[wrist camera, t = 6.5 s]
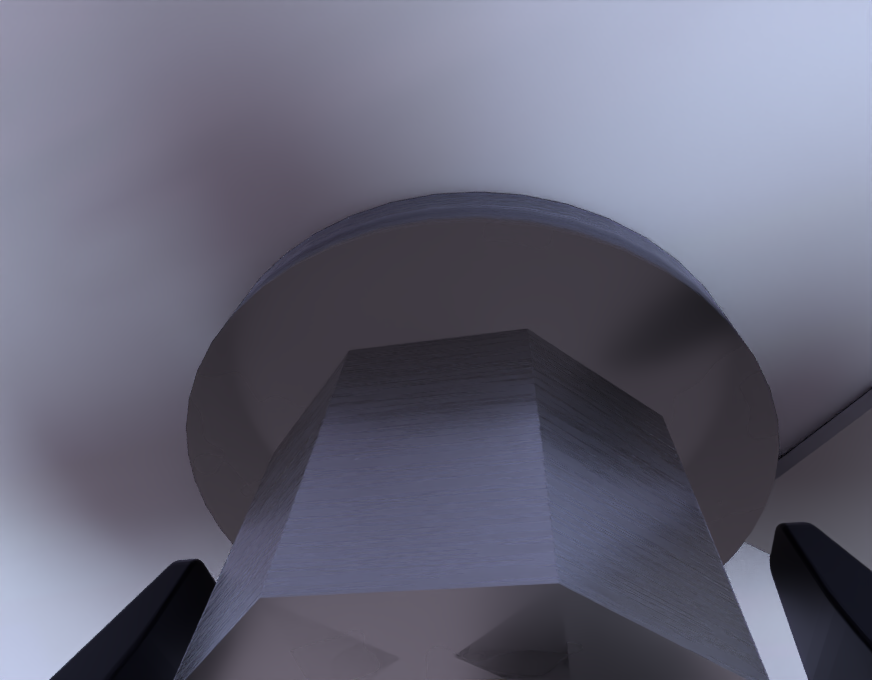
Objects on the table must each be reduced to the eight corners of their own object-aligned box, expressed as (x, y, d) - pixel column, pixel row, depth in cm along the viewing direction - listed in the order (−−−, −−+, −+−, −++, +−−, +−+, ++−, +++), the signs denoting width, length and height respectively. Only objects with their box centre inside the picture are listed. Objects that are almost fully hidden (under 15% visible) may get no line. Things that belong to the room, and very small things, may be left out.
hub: (537, 644, 14) (554, 859, 11) (158, 494, 12) (28, 701, 9) (881, 381, 9) (1118, 622, 6) (341, 52, 7) (209, 123, 4)
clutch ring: (657, 591, 11) (733, 860, 8) (345, 606, 12) (291, 848, 9) (666, 311, 8) (806, 571, 4) (233, 363, 9) (75, 606, 5)
